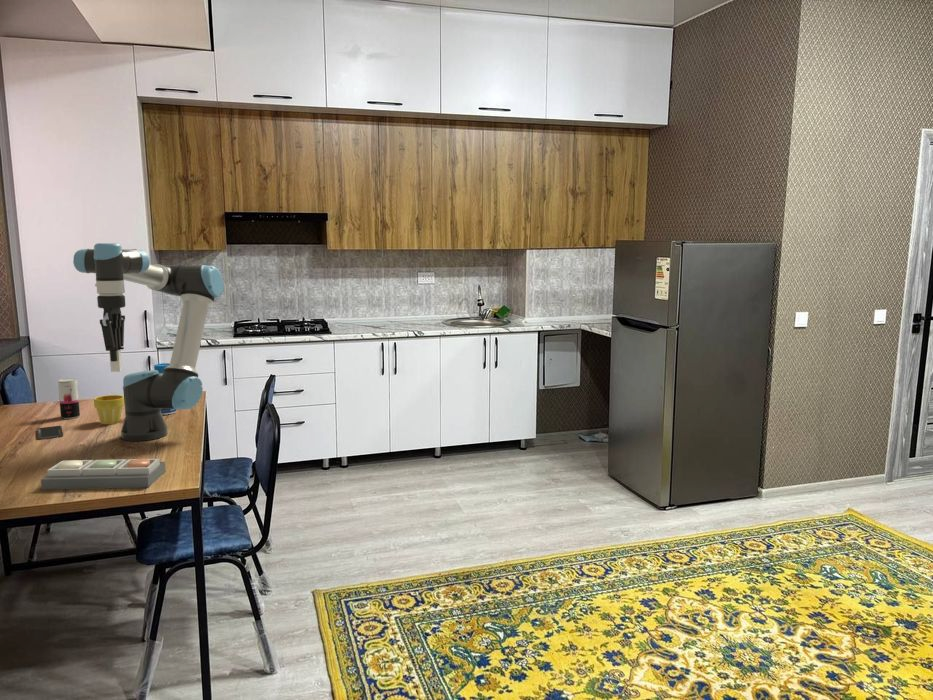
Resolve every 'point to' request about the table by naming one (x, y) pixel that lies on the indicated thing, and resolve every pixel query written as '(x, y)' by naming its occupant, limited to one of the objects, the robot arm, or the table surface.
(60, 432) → the phone
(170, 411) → the beverage bottle
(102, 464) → the sage button
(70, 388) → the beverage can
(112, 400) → the plant pot
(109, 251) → the robot arm
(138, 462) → the terracotta button
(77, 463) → the cream button
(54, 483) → the button panel
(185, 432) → the table surface
